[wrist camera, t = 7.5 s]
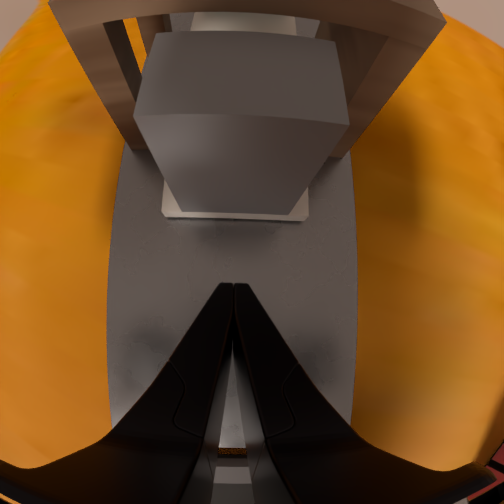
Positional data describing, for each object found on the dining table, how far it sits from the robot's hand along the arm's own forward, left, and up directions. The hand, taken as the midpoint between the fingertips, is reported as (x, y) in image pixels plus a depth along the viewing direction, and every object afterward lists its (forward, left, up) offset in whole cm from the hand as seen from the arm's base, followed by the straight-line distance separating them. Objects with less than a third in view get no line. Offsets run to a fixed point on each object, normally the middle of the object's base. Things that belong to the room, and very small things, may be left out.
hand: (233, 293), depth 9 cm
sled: (+9, +11, -6) cm, 15 cm away
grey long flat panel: (+5, +7, -7) cm, 11 cm away
